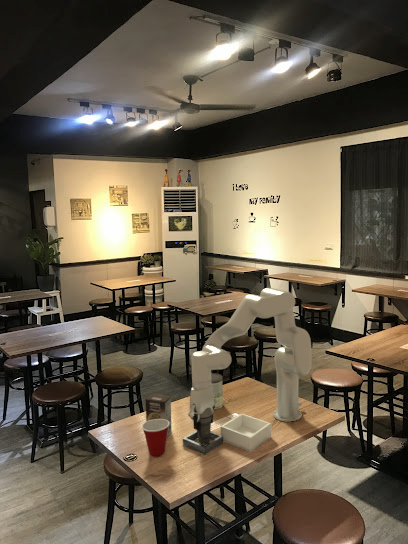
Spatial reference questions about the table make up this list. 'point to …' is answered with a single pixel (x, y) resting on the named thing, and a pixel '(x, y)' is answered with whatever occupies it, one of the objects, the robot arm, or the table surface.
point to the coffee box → (159, 409)
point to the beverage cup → (205, 426)
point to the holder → (190, 443)
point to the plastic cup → (156, 436)
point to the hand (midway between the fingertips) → (203, 425)
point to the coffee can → (217, 389)
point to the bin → (246, 432)
